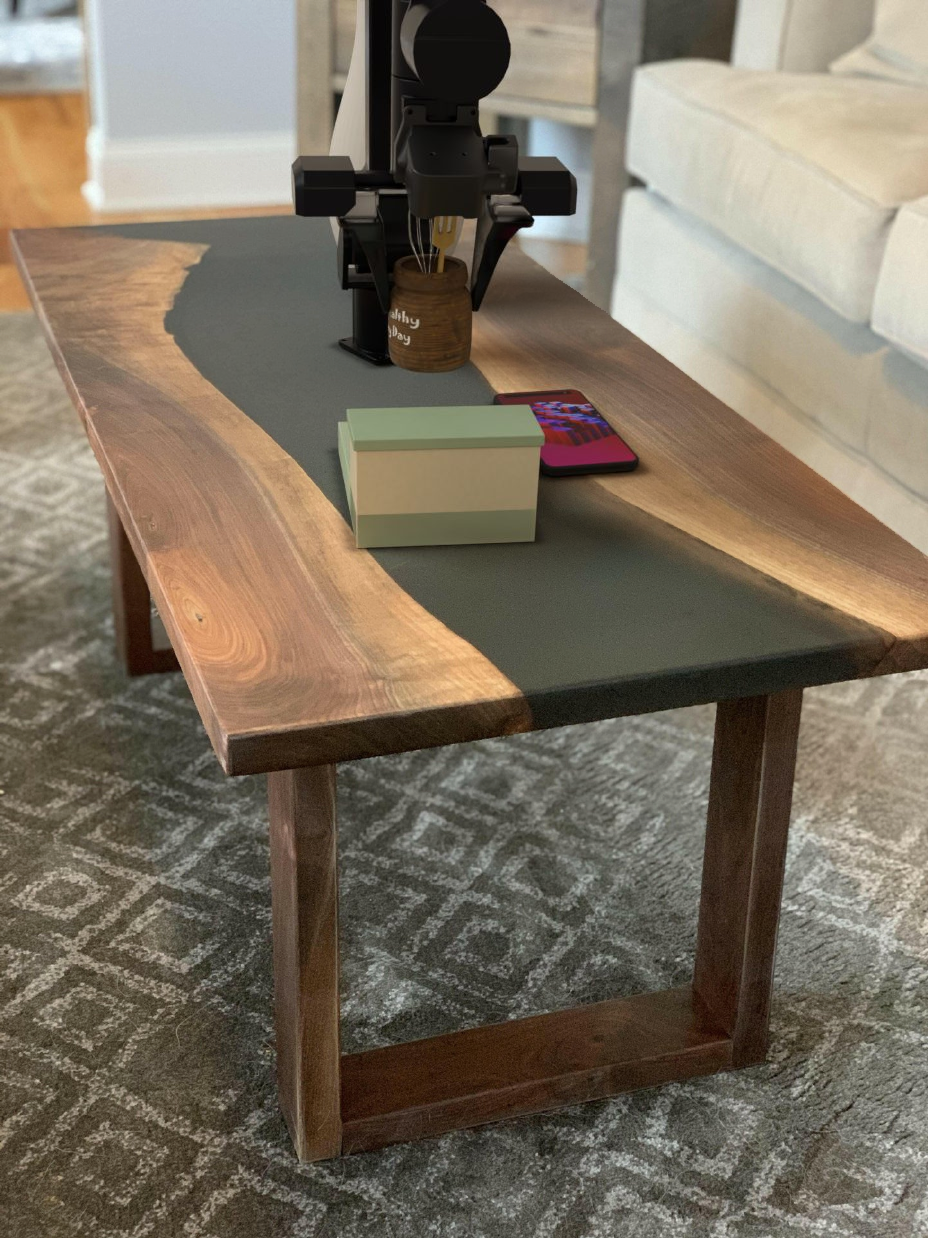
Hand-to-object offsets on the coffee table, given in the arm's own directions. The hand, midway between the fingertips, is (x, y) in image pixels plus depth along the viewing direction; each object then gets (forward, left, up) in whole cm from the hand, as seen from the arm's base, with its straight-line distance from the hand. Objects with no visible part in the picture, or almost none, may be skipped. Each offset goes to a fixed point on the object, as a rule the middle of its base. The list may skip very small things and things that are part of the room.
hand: (430, 310), depth 99 cm
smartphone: (+1, +13, -12) cm, 17 cm away
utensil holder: (0, 0, -4) cm, 4 cm away
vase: (-37, +24, -12) cm, 46 cm away
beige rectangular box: (+4, -2, -12) cm, 13 cm away
